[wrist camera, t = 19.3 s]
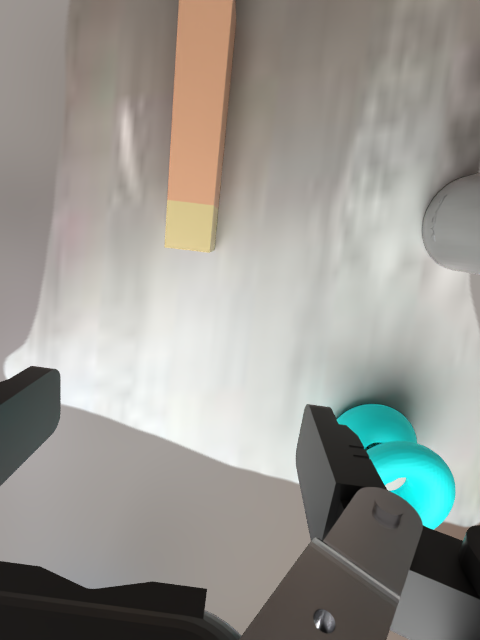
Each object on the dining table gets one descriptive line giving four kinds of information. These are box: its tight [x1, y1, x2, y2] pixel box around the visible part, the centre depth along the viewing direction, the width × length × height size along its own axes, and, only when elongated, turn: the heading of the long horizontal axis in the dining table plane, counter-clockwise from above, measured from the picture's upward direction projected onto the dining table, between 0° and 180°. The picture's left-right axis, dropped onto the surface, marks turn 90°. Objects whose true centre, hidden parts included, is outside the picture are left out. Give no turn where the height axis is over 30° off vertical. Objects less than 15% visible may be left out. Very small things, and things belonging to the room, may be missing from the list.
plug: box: [165, 0, 236, 253], centre depth 30 cm, size 4×20×5 cm, turn 173°
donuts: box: [337, 404, 455, 530], centre depth 35 cm, size 10×10×10 cm
